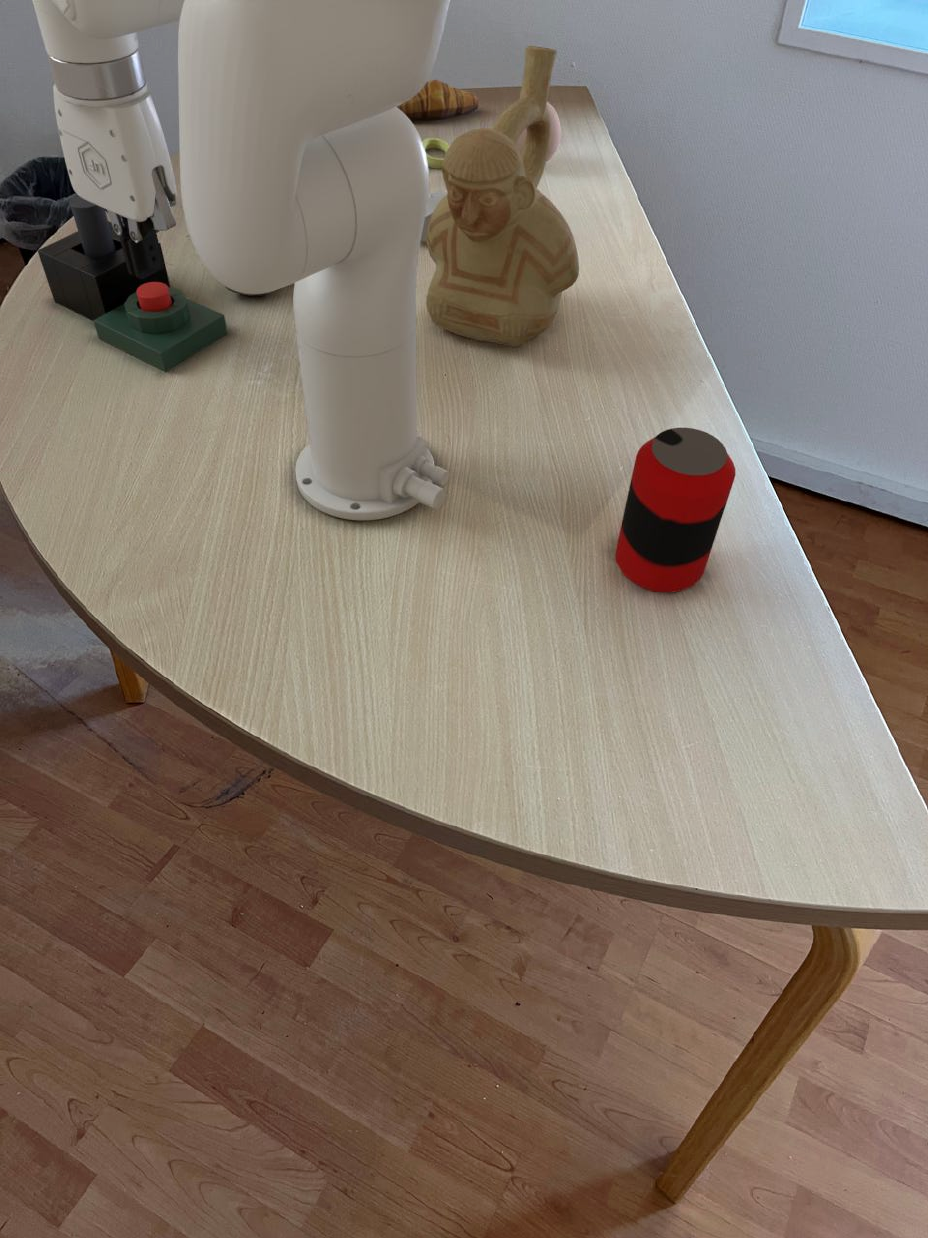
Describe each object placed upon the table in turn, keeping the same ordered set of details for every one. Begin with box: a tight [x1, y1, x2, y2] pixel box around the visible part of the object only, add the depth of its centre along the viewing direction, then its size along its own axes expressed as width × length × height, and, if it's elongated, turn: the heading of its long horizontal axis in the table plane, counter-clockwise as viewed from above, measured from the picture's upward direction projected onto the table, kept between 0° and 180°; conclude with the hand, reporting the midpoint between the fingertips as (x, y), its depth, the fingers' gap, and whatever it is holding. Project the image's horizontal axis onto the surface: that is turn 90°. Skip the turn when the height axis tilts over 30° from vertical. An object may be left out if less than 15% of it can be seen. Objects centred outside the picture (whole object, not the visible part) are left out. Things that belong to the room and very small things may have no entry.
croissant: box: [397, 79, 479, 121], centre depth 137 cm, size 14×7×5 cm, turn 111°
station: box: [93, 286, 228, 372], centre depth 97 cm, size 10×9×4 cm
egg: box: [515, 101, 562, 163], centre depth 126 cm, size 7×7×8 cm
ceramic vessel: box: [425, 45, 580, 348], centre depth 94 cm, size 17×20×25 cm
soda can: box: [614, 427, 736, 593], centre depth 74 cm, size 8×8×12 cm
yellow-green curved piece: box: [422, 137, 451, 169], centre depth 128 cm, size 7×12×2 cm, turn 113°
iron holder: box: [37, 220, 171, 322], centre depth 101 cm, size 9×9×6 cm
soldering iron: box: [69, 194, 116, 261], centre depth 99 cm, size 3×3×11 cm
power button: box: [136, 282, 172, 312], centre depth 95 cm, size 3×3×2 cm
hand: (146, 271), depth 93 cm, fingers closed
